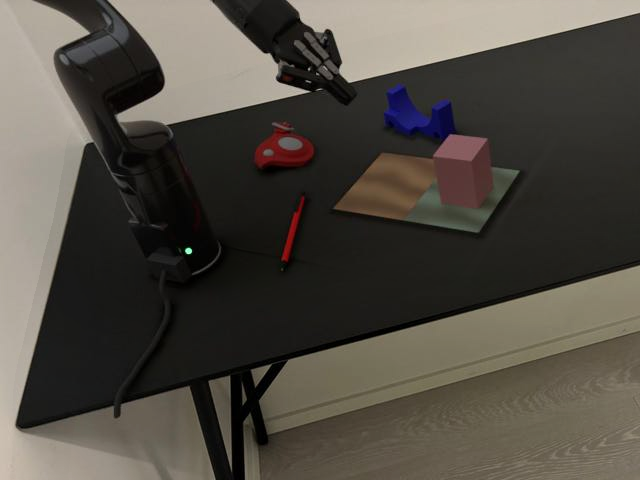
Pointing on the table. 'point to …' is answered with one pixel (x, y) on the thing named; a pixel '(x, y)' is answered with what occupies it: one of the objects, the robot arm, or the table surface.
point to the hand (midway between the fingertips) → (352, 100)
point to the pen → (292, 231)
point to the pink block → (463, 171)
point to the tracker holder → (283, 149)
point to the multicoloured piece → (418, 194)
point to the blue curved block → (418, 115)
